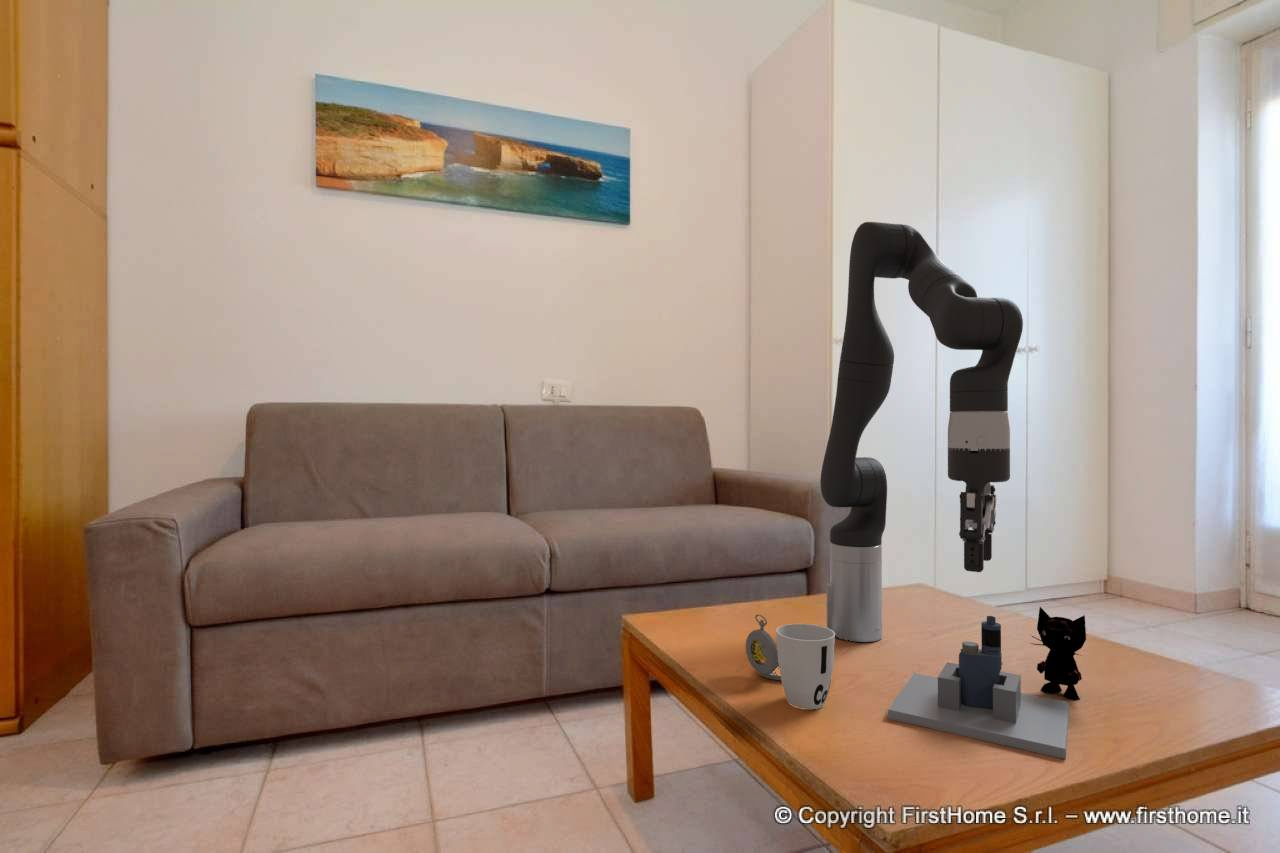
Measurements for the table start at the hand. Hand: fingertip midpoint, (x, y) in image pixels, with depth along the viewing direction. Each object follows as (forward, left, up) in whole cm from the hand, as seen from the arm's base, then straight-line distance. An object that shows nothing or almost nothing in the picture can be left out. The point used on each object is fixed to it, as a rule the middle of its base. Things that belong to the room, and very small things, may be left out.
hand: (978, 565), depth 90 cm
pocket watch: (-29, -2, -20) cm, 35 cm away
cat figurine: (+9, +15, -20) cm, 27 cm away
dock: (0, 0, -20) cm, 20 cm away
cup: (-21, -9, -20) cm, 31 cm away
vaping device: (0, 0, -19) cm, 19 cm away
